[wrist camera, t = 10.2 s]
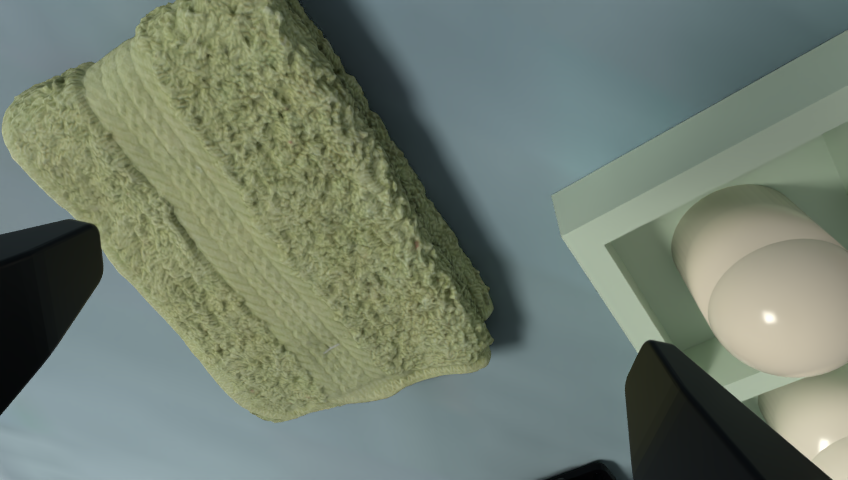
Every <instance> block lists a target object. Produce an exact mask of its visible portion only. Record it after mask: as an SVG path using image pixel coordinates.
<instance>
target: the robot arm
mask: <svg viewBox="0 0 848 480" xmlns="http://www.w3.org/2000/svg"><path fill="white" fill-rule="evenodd" d="M102 274H103V258H102V248H101V239H100V232H99V229H98V228H97V226H95V225H94V224H92V223H88V222H83V221H78V220H73V219H67V220H62V221H58V222H53V223H49V224H45V225H40V226H36V227H32V228H27V229H23V230H18V231H14V232H10V233H5V234H1V235H0V415H1V414H2V413H3V412H4V411H5V409H6V408H7V407H8V406H9V405H10V403H11V402H12V401H13V400H14V399H15V397H16V396H17V395H18V394H19V393H20V392H21V390H22V389H23V388H24V387H25V386H26V384H27V383H28V382H29V381H30V380H31V378H32V377H33V376H34V375H35V374H36V372H37V371H38V370H39V369H40V368H41V366H42V365H43V364H44V363H45V361H46V360H47V359H48V357H49V356H50V355H51V353H52V352H53V351H54V349H55V348H56V347H57V345H58V344H59V342H60V341H61V339H62V338H63V336H64V335H65V333H66V332H67V330H68V329H69V327H70V326H71V324H72V323H73V321H74V320H75V318H76V317H77V315H78V314H79V312H80V311H81V309H82V308H83V306H84V305H85V303H86V302H87V300H88V299H89V297H90V296H91V294H92V293H93V291H94V290H95V288H96V287H97V285H98V284H99V282H100V280H101V278H102ZM625 397H626V408H627V420H628V431H629V442H630V454H631V464H632V473H633V479H634V480H833V479H831V478H830V477H829V476H828V475H827V474H826V473H824V472H823V471H822V470H821V469H820V468H818V467H817V466H816V465H815V464H814V463H813V462H811V461H810V460H809V459H808V458H807V457H805V456H804V455H803V454H802V453H801V452H800V451H798V450H797V449H796V448H795V447H794V446H792V445H791V444H790V443H789V442H788V441H787V440H785V439H784V438H783V437H782V436H781V435H780V434H778V433H777V432H776V431H775V430H774V429H772V428H771V427H770V426H769V425H768V424H767V423H765V422H764V421H763V420H762V419H761V418H759V417H758V416H757V415H756V414H755V413H754V412H752V411H751V410H750V409H749V408H748V407H747V406H745V405H744V404H743V403H742V402H741V401H739V400H738V399H737V398H736V397H735V396H734V395H732V394H731V393H730V392H729V391H728V390H727V389H725V388H724V387H723V386H722V385H721V384H719V383H718V382H717V381H716V380H715V379H714V378H712V377H711V376H710V375H709V374H708V373H706V372H705V371H704V370H703V369H702V368H701V367H699V366H698V365H697V364H696V363H695V362H694V361H692V360H691V359H690V358H689V357H688V356H686V355H685V354H684V353H683V352H682V351H681V350H679V349H678V348H677V347H676V346H675V345H673V344H670V343H666V342H661V341H656V340H648V341H645V342H644V344H643V345H642V347H641V349H640V351H639V353H638V355H637V357H636V359H635V361H634V363H633V365H632V368H631V370H630V372H629V374H628V376H627V379H626V384H625ZM596 473H597V474H596ZM549 480H616V478H615V477H614V476H613V475H612V473H611V472H610V471H609V469H608V468H607V467H606V466H605V465H604V464H602V463H592V464H589V465H587V466H584V467H581V468H579V469H576V470H573V471H570V472H568V473H565V474H562V475H560V476H557V477H554V478H551V479H549Z"/></svg>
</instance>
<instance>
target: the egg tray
mask: <svg viewBox="0 0 848 480" xmlns="http://www.w3.org/2000/svg"><path fill="white" fill-rule="evenodd" d="M744 184H754V185H762V186H766V187H770V188H772V189H775V190H777V191H779V192H780V193H782V194H784V195H785V196H786V197H787V198H789V199H790V200H791V201H792V202H793V203H794V204H795V205H797V206H798V207H799V208H800V209H801V210H802V211H803V212H804V213H806V214H807V215H808V216H809V217H810V218H811V219H812V220H814V221H815V222H816V223H817V224H818V225H819V226H820V227H821V228H823V229H824V230H825V231H826V232H827V233H828V234H829V235H830V236H832V237H833V238H834V239H835V240H836V241H837V242H838V243H840V244H841V245H842V246H843V247H844V248H845V249H846V250H847V251H848V30H847V31H845V32H843V33H841V34H839V35H838V36H836V37H834V38H832V39H830V40H829V41H827V42H825V43H823V44H822V45H820V46H818V47H816V48H814V49H813V50H811V51H809V52H807V53H805V54H804V55H802V56H800V57H798V58H796V59H795V60H793V61H791V62H789V63H788V64H786V65H784V66H782V67H780V68H779V69H777V70H775V71H773V72H771V73H770V74H768V75H766V76H764V77H763V78H761V79H759V80H757V81H755V82H754V83H752V84H750V85H748V86H746V87H745V88H743V89H741V90H739V91H737V92H736V93H734V94H732V95H730V96H729V97H727V98H725V99H723V100H721V101H720V102H718V103H716V104H714V105H712V106H711V107H709V108H707V109H705V110H703V111H702V112H700V113H698V114H696V115H695V116H693V117H691V118H689V119H687V120H686V121H684V122H682V123H680V124H678V125H677V126H675V127H673V128H671V129H670V130H668V131H666V132H664V133H662V134H661V135H659V136H657V137H655V138H653V139H652V140H650V141H648V142H646V143H644V144H643V145H641V146H639V147H637V148H636V149H634V150H632V151H630V152H628V153H627V154H625V155H623V156H621V157H619V158H618V159H616V160H614V161H612V162H611V163H609V164H607V165H605V166H603V167H602V168H600V169H598V170H596V171H594V172H593V173H591V174H589V175H587V176H585V177H584V178H582V179H580V180H578V181H577V182H575V183H573V184H571V185H569V186H568V187H566V188H564V189H562V190H560V191H559V192H557V193H555V194H553V195H551V197H552V201H553V205H554V209H555V213H556V217H557V221H558V225H559V229H560V234H561V237H562V239H563V240H564V242H565V243H566V245H567V246H568V248H569V249H570V251H571V252H572V254H573V255H574V257H575V258H576V260H577V261H578V263H579V264H580V266H581V267H582V269H583V270H584V272H585V273H586V275H587V276H588V278H589V279H590V281H591V282H592V284H593V286H594V287H595V289H596V290H597V292H598V293H599V295H600V296H601V298H602V299H603V301H604V302H605V304H606V305H607V307H608V308H609V310H610V311H611V313H612V314H613V316H614V317H615V319H616V320H617V322H618V323H619V325H620V326H621V328H622V330H623V331H624V333H625V334H626V336H627V337H628V339H629V340H630V342H631V343H632V345H633V346H634V348H635V349H636V351H637V352H638V353H639V351H640V349H641V347H642V345H643V344H644V342H645V341H648V340H656V341H661V342H666V343H670V344H673V345H675V346H676V347H677V348H678V349H679V350H681V351H682V352H683V353H684V354H685V355H686V356H688V357H689V358H690V359H691V360H692V361H694V362H695V363H696V364H697V365H698V366H699V367H701V368H702V369H703V370H704V371H705V372H706V373H708V374H709V375H710V376H711V377H712V378H714V379H715V380H716V381H717V382H718V383H719V384H721V385H722V386H723V387H724V388H725V389H727V390H728V391H729V392H730V393H731V394H732V395H734V396H735V397H736V398H737V399H738V400H739V401H741V402H742V403H743V404H744V405H745V406H747V407H748V408H749V409H750V410H751V411H752V412H754V413H755V414H756V415H757V416H758V417H759V418H761V419H762V420H763V421H764V422H765V423H767V422H766V421H765V419H764V417H763V415H762V414H761V412H760V409H759V406H758V395H760V394H763V393H765V392H768V391H771V390H773V389H776V388H779V387H781V386H784V385H787V384H789V383H792V382H795V381H797V380H800V379H803V378H806V377H802V378H791V377H780V376H775V375H771V374H767V373H764V372H761V371H758V370H756V369H754V368H752V367H749V366H748V365H746V364H744V363H742V362H741V361H739V360H738V359H737V358H735V357H734V356H733V355H731V354H730V353H729V352H728V351H727V350H726V349H725V348H724V347H723V346H722V345H721V343H720V342H719V340H718V339H717V338H716V336H715V335H714V333H713V332H712V330H711V328H710V326H709V325H708V323H707V321H706V319H705V317H704V316H703V314H702V312H701V310H700V309H699V307H698V305H697V303H696V302H695V300H694V298H693V296H692V294H691V293H690V291H689V289H688V287H687V286H686V284H685V282H684V280H683V278H682V277H681V275H680V273H679V271H678V270H677V268H676V266H675V264H674V261H673V258H672V252H671V244H672V238H673V234H674V231H675V229H676V227H677V225H678V223H679V221H680V220H681V218H682V217H683V215H684V214H685V213H686V212H687V211H688V210H689V209H690V208H691V207H692V206H693V205H694V204H695V203H697V202H698V201H699V200H701V199H702V198H704V197H705V196H707V195H709V194H711V193H713V192H715V191H717V190H720V189H723V188H726V187H730V186H735V185H744Z"/></svg>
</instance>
